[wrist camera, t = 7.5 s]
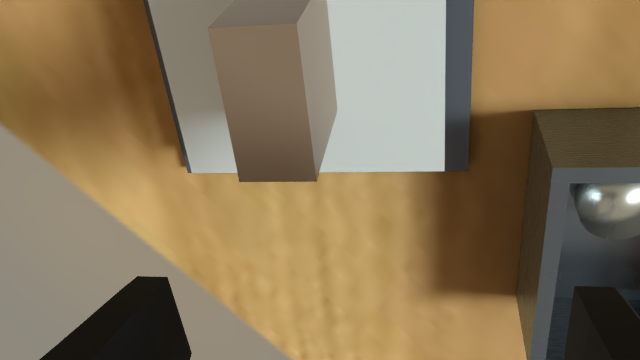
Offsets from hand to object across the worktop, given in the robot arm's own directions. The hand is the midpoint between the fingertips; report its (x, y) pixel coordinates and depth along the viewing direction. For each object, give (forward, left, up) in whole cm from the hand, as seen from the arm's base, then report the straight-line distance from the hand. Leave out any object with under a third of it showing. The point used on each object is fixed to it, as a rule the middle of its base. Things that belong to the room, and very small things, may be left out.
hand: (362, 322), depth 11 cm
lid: (+2, +3, -10) cm, 10 cm away
